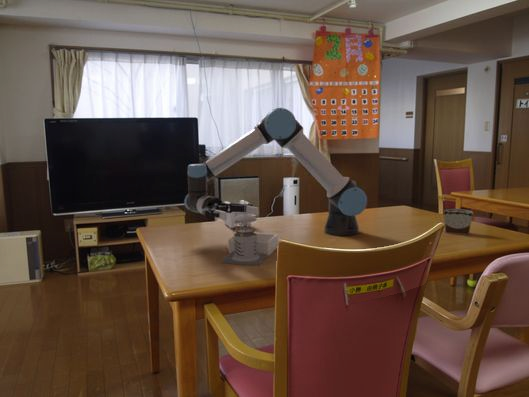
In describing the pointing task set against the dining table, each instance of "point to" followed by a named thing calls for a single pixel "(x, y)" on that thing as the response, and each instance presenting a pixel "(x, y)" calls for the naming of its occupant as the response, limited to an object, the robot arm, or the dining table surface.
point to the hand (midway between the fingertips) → (242, 213)
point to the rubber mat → (256, 262)
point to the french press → (245, 238)
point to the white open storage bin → (259, 243)
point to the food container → (458, 221)
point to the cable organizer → (231, 216)
